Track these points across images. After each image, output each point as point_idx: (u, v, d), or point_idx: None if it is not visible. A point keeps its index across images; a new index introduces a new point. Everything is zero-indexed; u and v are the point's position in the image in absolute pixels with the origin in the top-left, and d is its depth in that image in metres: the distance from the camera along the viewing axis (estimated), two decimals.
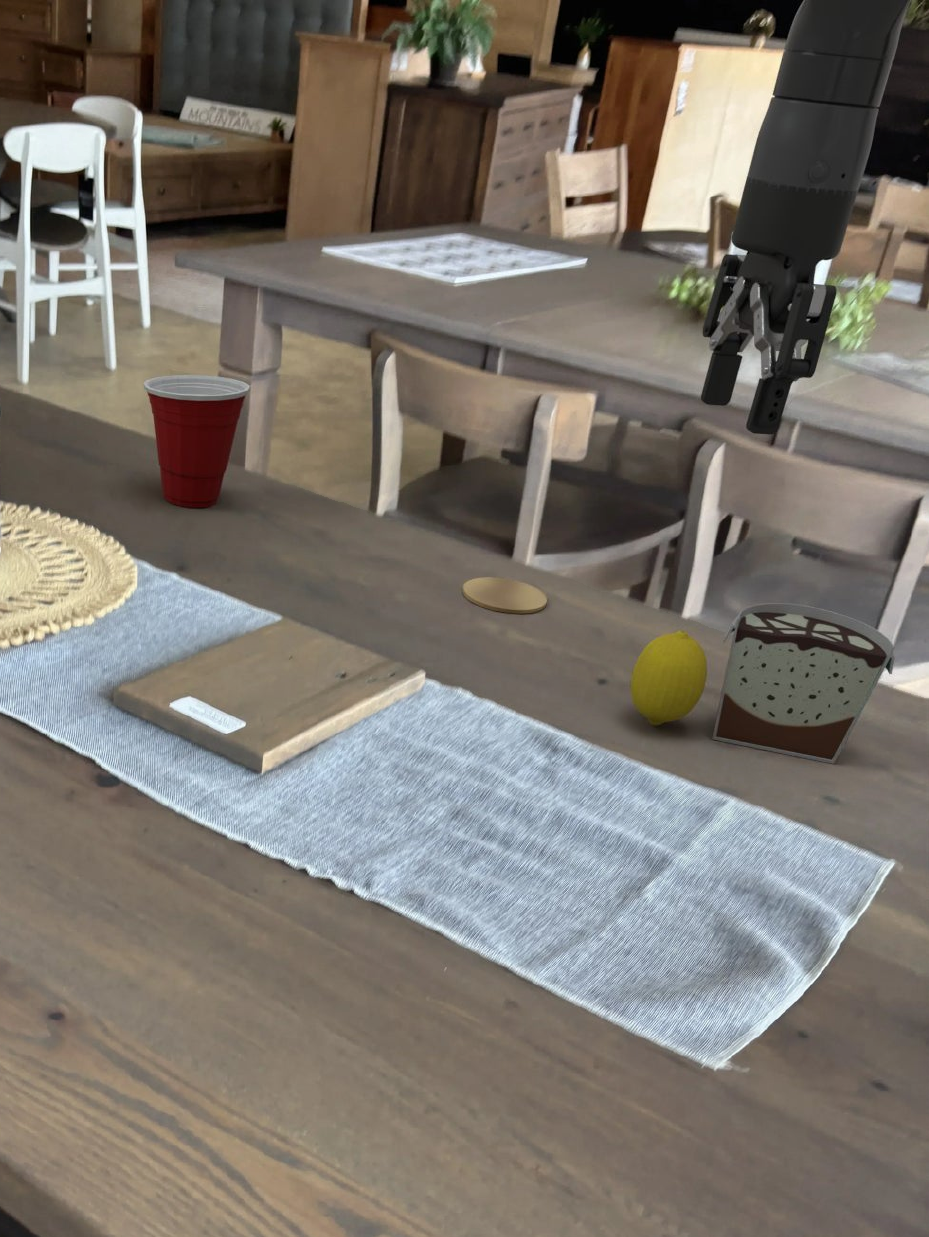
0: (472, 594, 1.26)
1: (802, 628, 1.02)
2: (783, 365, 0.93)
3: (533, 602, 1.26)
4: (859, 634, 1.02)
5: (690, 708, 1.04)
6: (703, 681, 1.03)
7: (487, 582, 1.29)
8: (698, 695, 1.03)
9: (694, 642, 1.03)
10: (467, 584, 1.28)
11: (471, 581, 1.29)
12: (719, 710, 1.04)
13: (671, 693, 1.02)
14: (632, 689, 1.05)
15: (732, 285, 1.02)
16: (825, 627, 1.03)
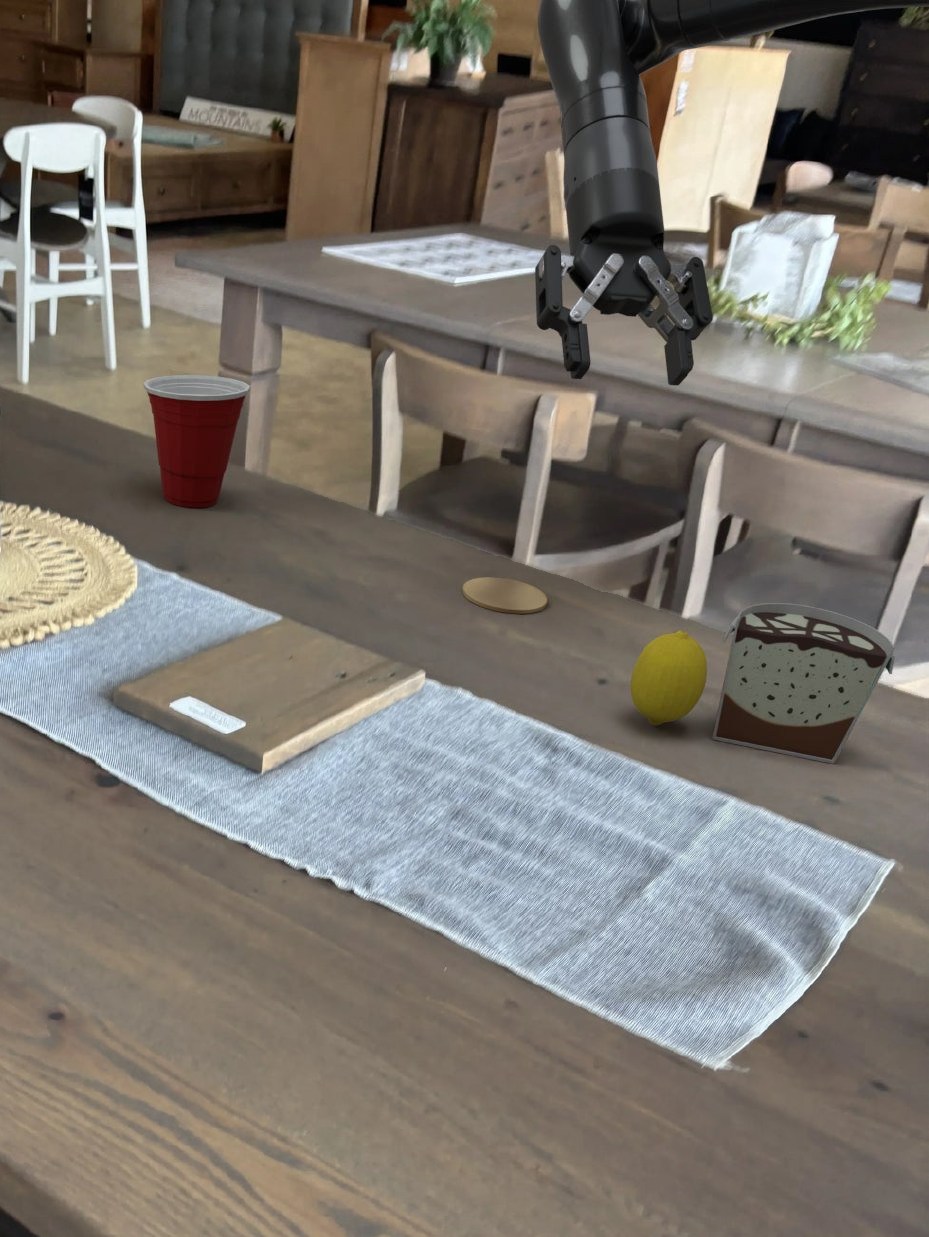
0: (472, 594, 1.26)
1: (802, 628, 1.02)
2: (537, 320, 1.09)
3: (533, 602, 1.26)
4: (859, 634, 1.02)
5: (690, 708, 1.04)
6: (703, 681, 1.03)
7: (487, 582, 1.29)
8: (698, 695, 1.03)
9: (694, 642, 1.03)
10: (467, 584, 1.28)
11: (471, 581, 1.29)
12: (719, 710, 1.04)
13: (671, 693, 1.02)
14: (632, 689, 1.05)
15: None
16: (825, 627, 1.03)
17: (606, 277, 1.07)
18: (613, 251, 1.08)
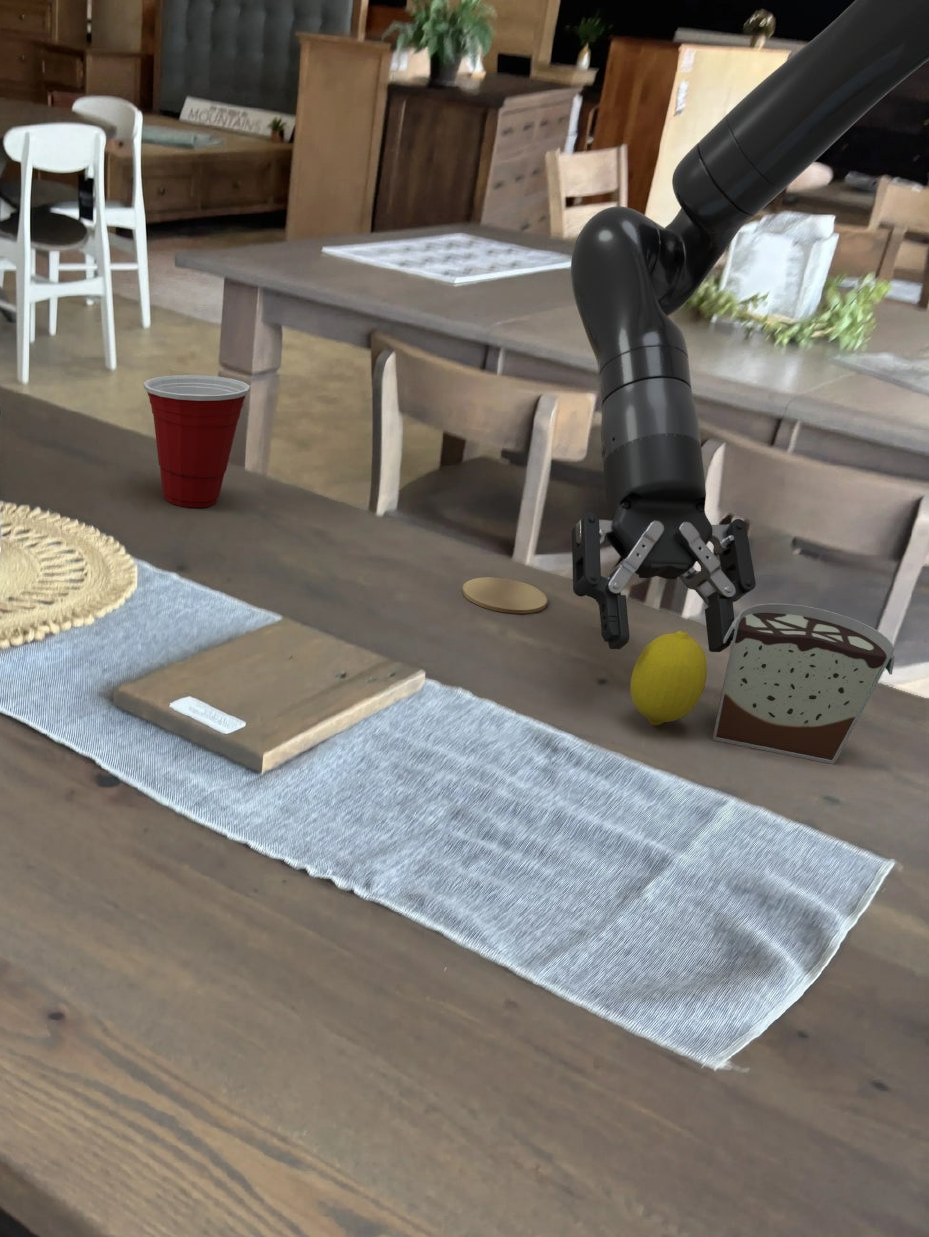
0: (472, 594, 1.26)
1: (802, 628, 1.02)
2: (574, 586, 1.05)
3: (533, 602, 1.26)
4: (859, 634, 1.02)
5: (690, 708, 1.04)
6: (703, 681, 1.03)
7: (487, 582, 1.29)
8: (698, 695, 1.03)
9: (694, 642, 1.03)
10: (467, 584, 1.28)
11: (471, 581, 1.29)
12: (719, 711, 1.04)
13: (671, 693, 1.02)
14: (632, 689, 1.05)
15: None
16: (825, 627, 1.03)
17: (646, 546, 1.03)
18: (653, 515, 1.05)
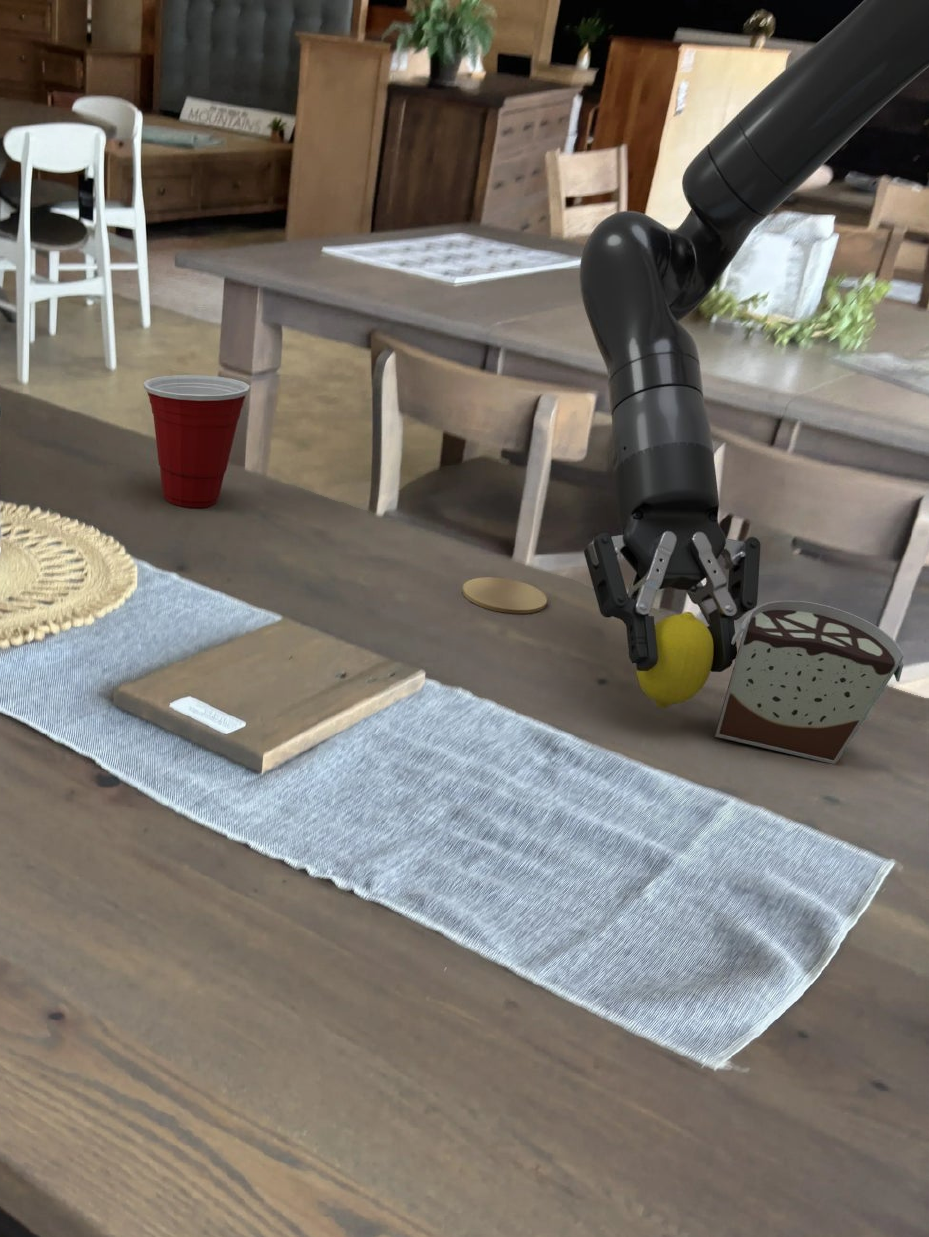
0: (472, 594, 1.26)
1: (812, 629, 1.01)
2: None
3: (533, 602, 1.26)
4: (868, 635, 1.01)
5: (697, 690, 1.03)
6: (710, 662, 1.02)
7: (487, 582, 1.29)
8: (705, 677, 1.03)
9: (701, 623, 1.02)
10: (467, 584, 1.28)
11: (471, 581, 1.29)
12: (724, 709, 1.04)
13: (677, 674, 1.02)
14: (638, 671, 1.04)
15: None
16: (835, 627, 1.02)
17: (658, 557, 1.02)
18: (665, 526, 1.03)
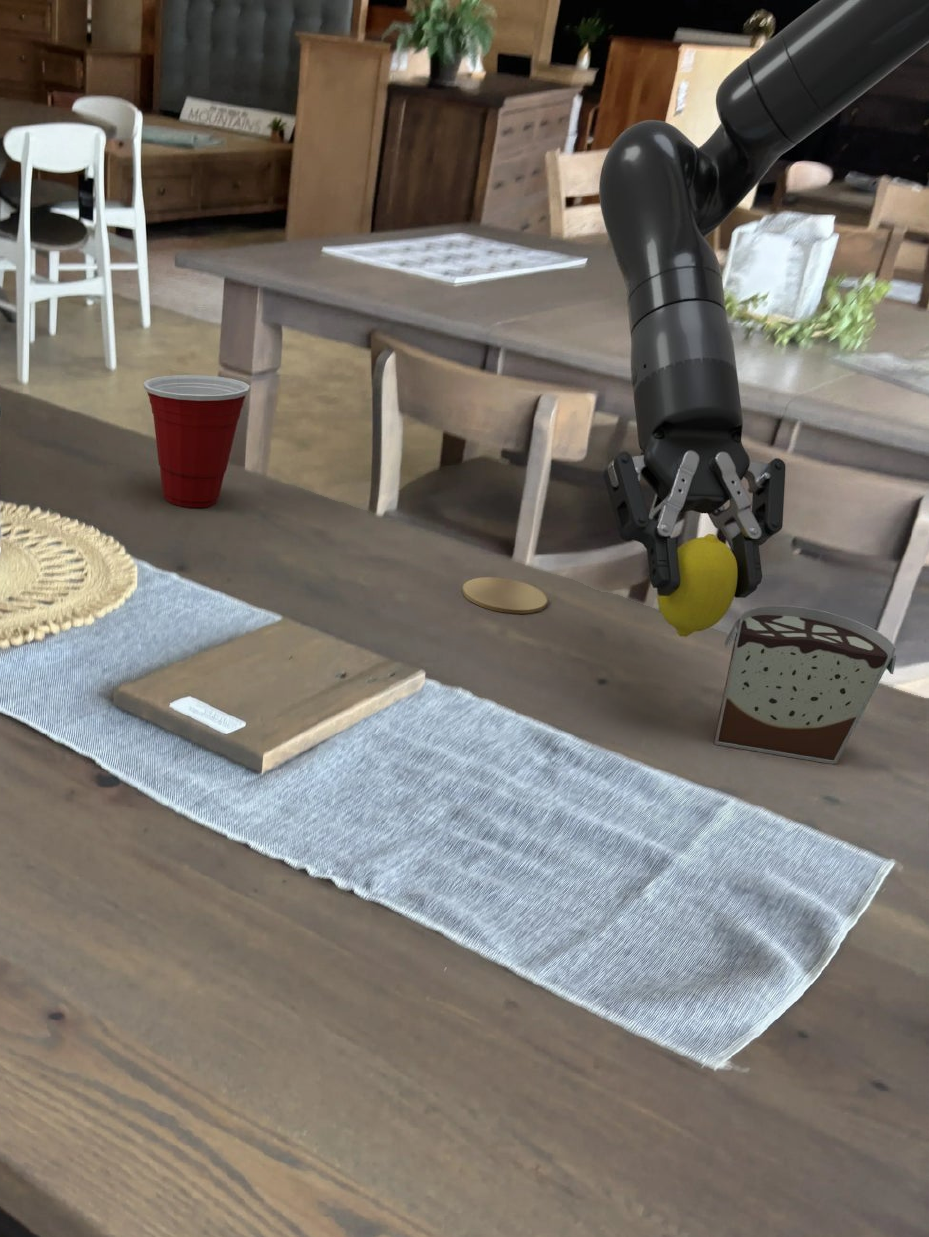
0: (472, 594, 1.26)
1: (801, 630, 1.02)
2: None
3: (533, 602, 1.26)
4: (856, 634, 1.02)
5: (720, 616, 1.00)
6: (734, 587, 0.99)
7: (487, 582, 1.29)
8: (728, 602, 0.99)
9: (724, 546, 0.98)
10: (467, 584, 1.28)
11: (471, 581, 1.29)
12: (721, 715, 1.04)
13: (700, 599, 0.98)
14: (659, 597, 1.01)
15: None
16: (822, 628, 1.03)
17: (681, 477, 0.98)
18: (687, 446, 0.99)
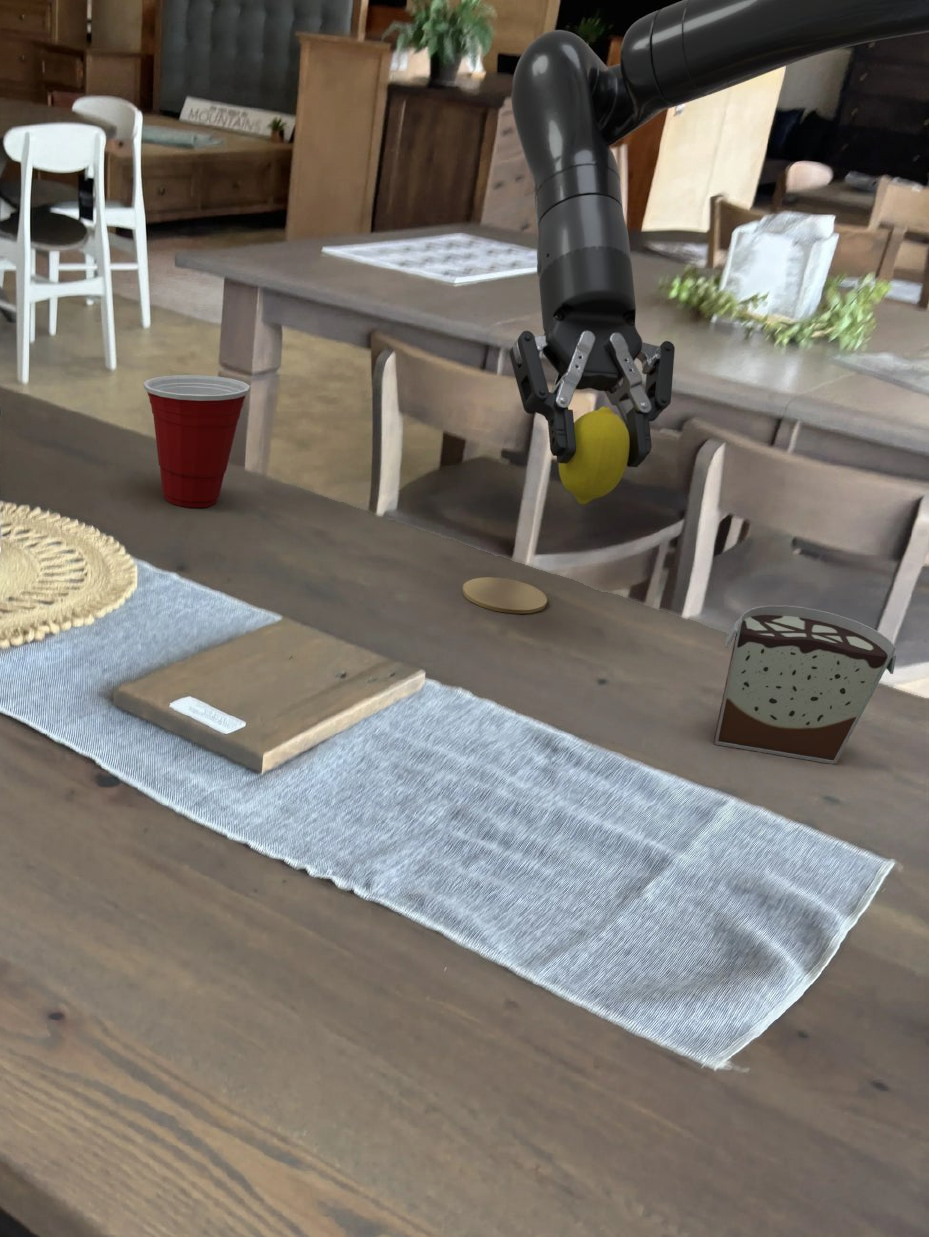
0: (472, 594, 1.26)
1: (801, 630, 1.02)
2: None
3: (533, 602, 1.26)
4: (856, 634, 1.02)
5: (614, 483, 1.10)
6: (625, 455, 1.09)
7: (487, 582, 1.29)
8: (621, 469, 1.09)
9: (617, 417, 1.08)
10: (467, 584, 1.28)
11: (471, 581, 1.29)
12: (721, 715, 1.04)
13: (595, 465, 1.08)
14: (560, 466, 1.11)
15: None
16: (822, 628, 1.03)
17: (578, 354, 1.08)
18: (585, 327, 1.10)
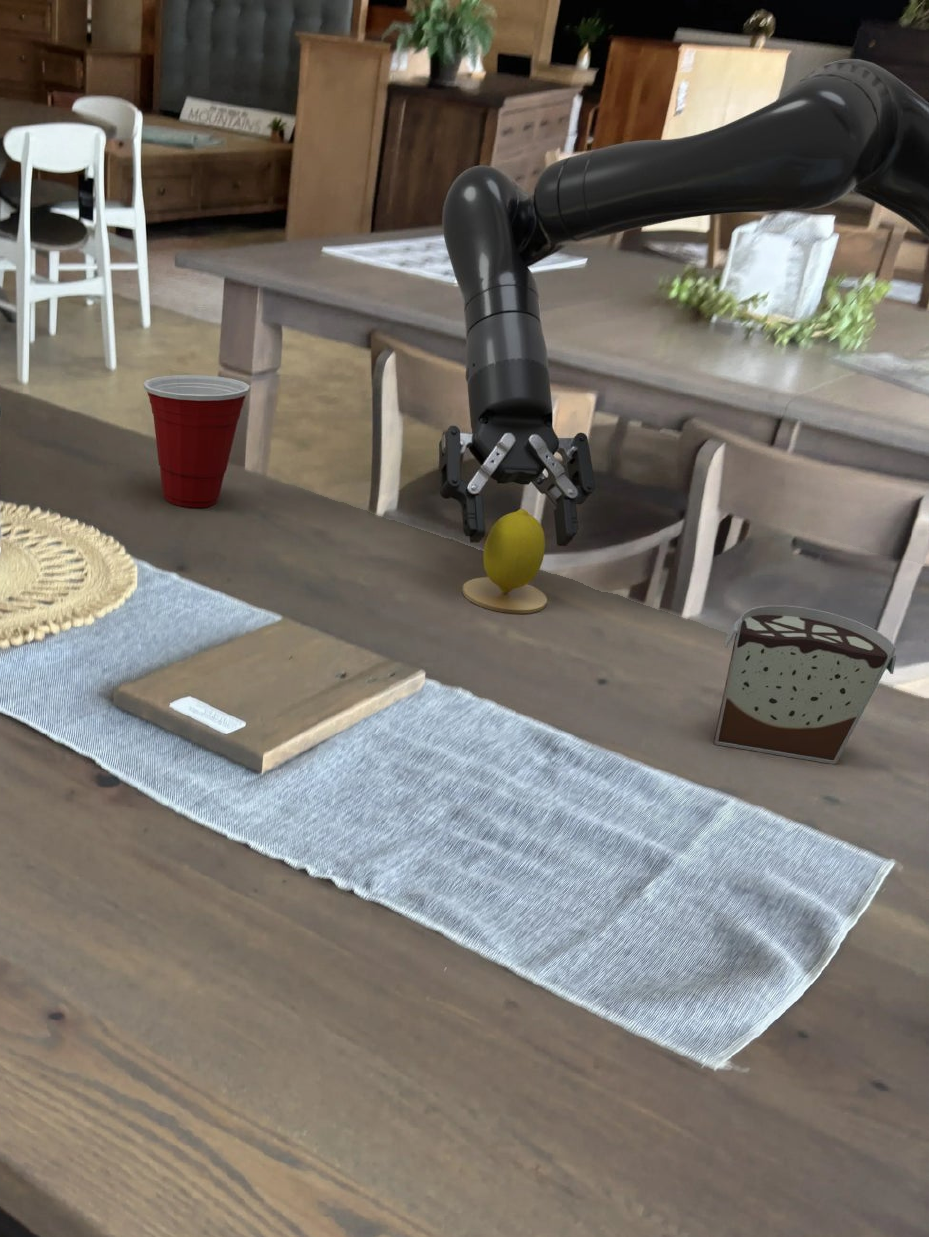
0: (472, 594, 1.26)
1: (801, 630, 1.02)
2: (440, 490, 1.23)
3: (533, 602, 1.26)
4: (856, 634, 1.02)
5: (531, 575, 1.24)
6: (541, 552, 1.23)
7: (487, 582, 1.29)
8: (537, 564, 1.23)
9: (533, 518, 1.22)
10: (467, 584, 1.28)
11: (471, 581, 1.29)
12: (721, 715, 1.04)
13: (513, 561, 1.22)
14: (484, 560, 1.25)
15: None
16: (822, 628, 1.03)
17: (500, 454, 1.22)
18: (507, 429, 1.23)
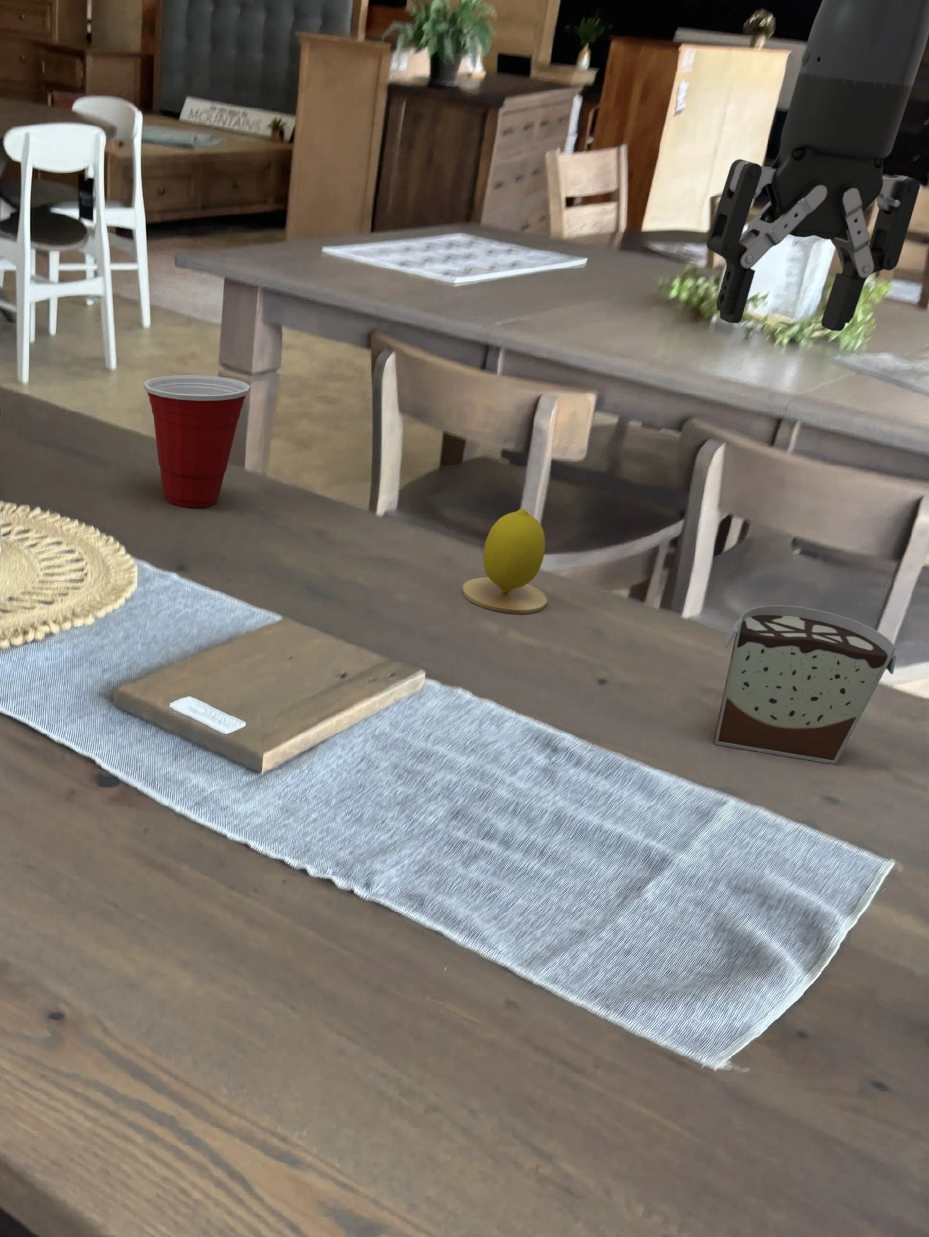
0: (472, 594, 1.26)
1: (801, 630, 1.02)
2: None
3: (533, 602, 1.26)
4: (856, 634, 1.02)
5: (531, 575, 1.24)
6: (541, 552, 1.23)
7: (487, 582, 1.29)
8: (537, 564, 1.23)
9: (533, 518, 1.22)
10: (467, 584, 1.28)
11: (471, 581, 1.29)
12: (721, 715, 1.04)
13: (513, 561, 1.22)
14: (484, 560, 1.25)
15: None
16: (822, 628, 1.03)
17: (798, 216, 0.95)
18: (823, 171, 0.94)
